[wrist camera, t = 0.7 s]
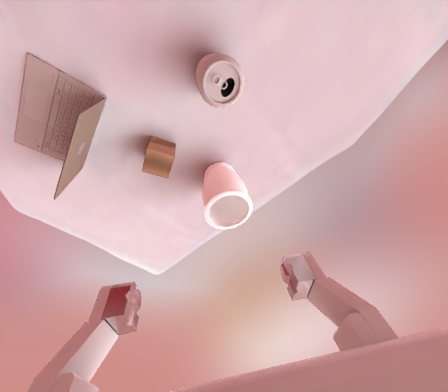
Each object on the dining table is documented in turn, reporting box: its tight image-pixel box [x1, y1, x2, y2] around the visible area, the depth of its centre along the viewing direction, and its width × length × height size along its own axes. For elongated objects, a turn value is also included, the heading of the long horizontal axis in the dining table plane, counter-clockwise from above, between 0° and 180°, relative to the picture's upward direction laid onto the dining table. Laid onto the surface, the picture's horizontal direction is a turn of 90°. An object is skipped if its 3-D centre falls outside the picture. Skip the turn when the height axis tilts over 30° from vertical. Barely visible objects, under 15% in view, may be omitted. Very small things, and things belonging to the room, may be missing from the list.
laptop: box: [15, 53, 107, 200], centre depth 35 cm, size 18×12×13 cm
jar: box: [202, 162, 253, 229], centre depth 48 cm, size 11×10×15 cm
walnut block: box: [142, 136, 176, 178], centre depth 44 cm, size 6×6×7 cm
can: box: [196, 53, 244, 108], centre depth 35 cm, size 8×8×12 cm
